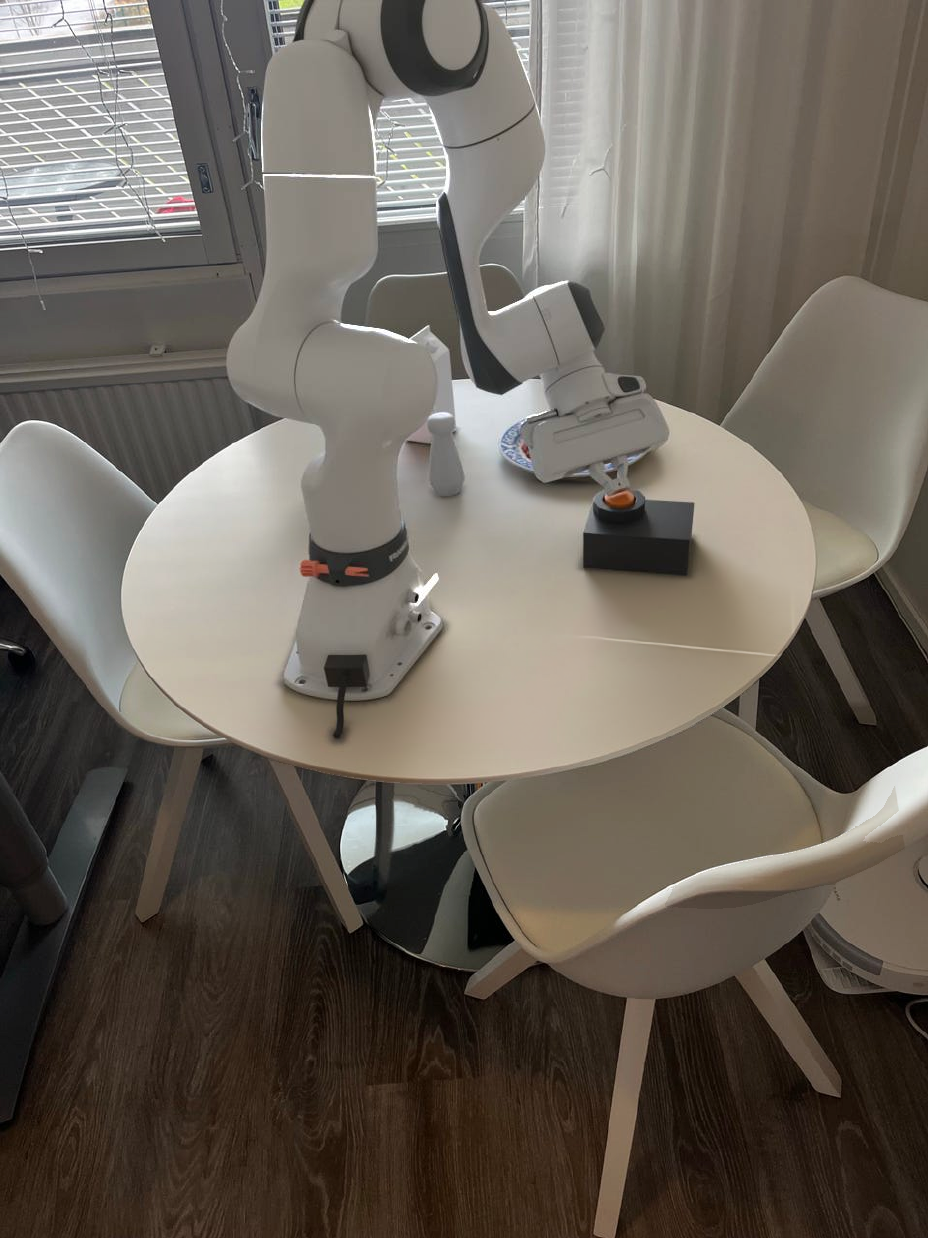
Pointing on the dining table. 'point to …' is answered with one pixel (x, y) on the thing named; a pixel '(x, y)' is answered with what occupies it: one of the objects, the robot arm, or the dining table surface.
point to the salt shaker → (444, 456)
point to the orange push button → (620, 499)
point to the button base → (638, 536)
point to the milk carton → (444, 377)
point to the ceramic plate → (520, 457)
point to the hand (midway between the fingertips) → (619, 492)
